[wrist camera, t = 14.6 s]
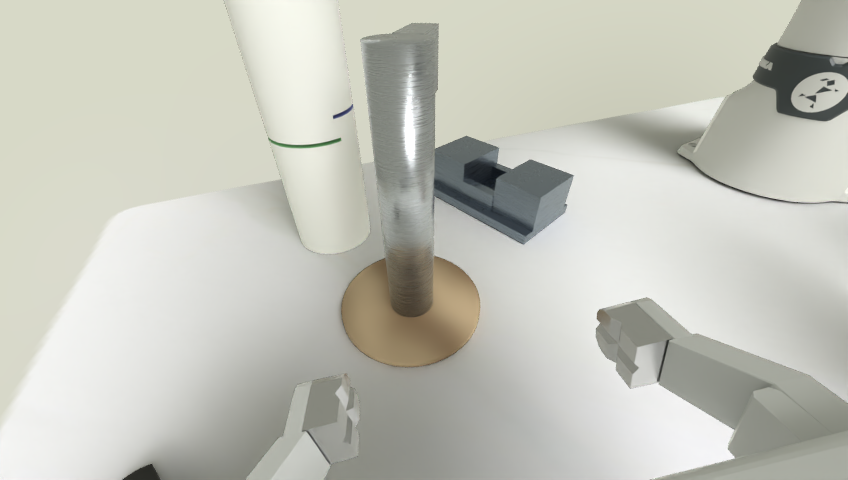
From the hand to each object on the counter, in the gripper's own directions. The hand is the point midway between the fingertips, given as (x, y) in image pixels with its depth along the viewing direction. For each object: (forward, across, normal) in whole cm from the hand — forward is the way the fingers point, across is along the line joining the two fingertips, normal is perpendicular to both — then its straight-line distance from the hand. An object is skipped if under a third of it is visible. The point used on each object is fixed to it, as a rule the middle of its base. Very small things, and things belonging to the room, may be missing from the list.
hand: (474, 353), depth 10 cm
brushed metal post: (+15, +2, +8) cm, 17 cm away
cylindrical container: (+24, +9, +6) cm, 27 cm away
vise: (+27, -8, +8) cm, 30 cm away
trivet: (+14, +3, +9) cm, 17 cm away
